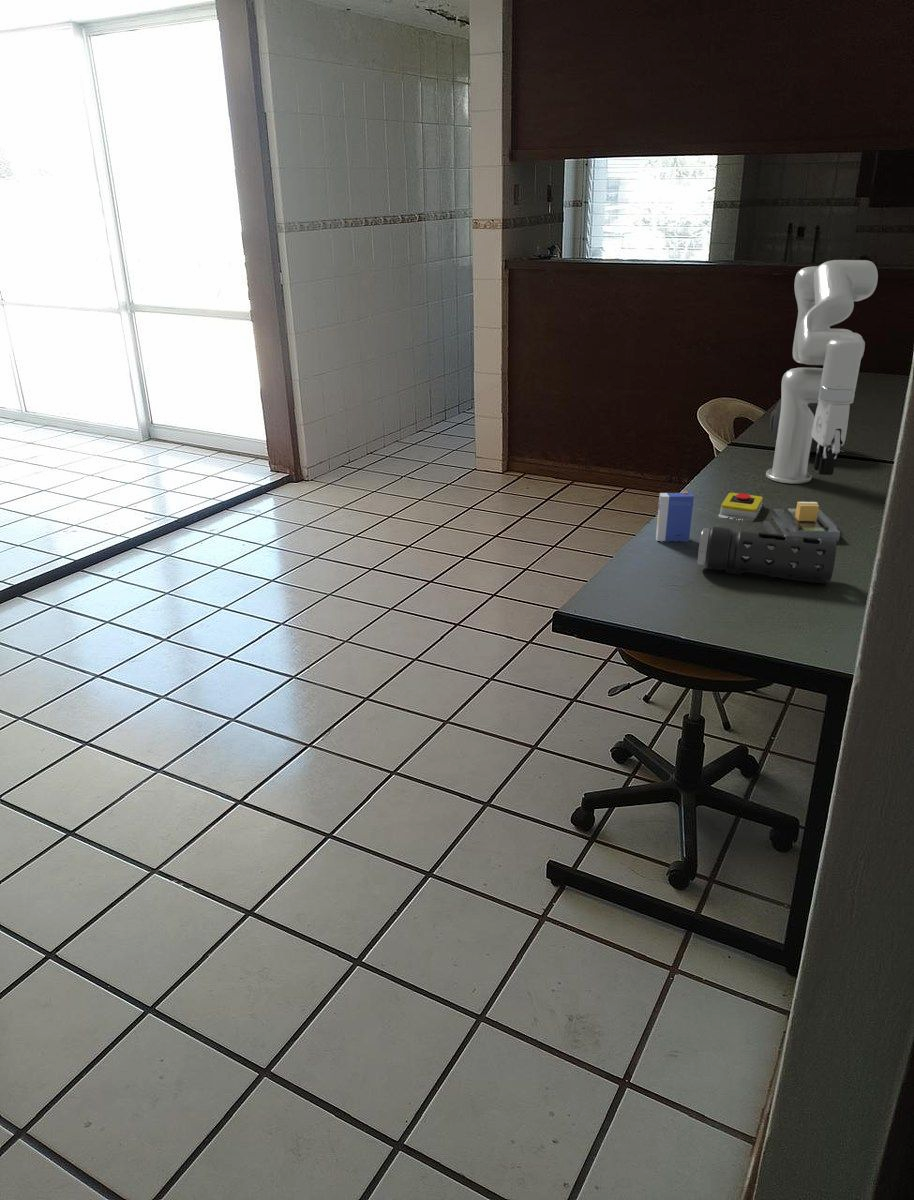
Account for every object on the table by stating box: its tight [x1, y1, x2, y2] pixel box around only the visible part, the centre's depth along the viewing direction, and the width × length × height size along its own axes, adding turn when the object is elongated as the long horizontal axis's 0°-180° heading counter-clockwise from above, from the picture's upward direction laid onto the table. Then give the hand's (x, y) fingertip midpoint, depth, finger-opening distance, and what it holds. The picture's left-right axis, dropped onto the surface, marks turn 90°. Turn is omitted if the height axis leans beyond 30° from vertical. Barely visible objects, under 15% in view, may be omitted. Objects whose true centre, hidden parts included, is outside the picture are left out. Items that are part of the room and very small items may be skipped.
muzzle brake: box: [697, 525, 837, 585], centre depth 199 cm, size 10×28×10 cm, turn 71°
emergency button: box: [717, 492, 764, 522], centre depth 238 cm, size 9×4×15 cm
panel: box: [771, 508, 841, 543], centre depth 225 cm, size 16×12×3 cm
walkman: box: [655, 491, 694, 543], centre depth 218 cm, size 8×3×12 cm, turn 89°
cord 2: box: [826, 515, 840, 530], centre depth 227 cm, size 8×1×1 cm, turn 177°
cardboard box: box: [795, 501, 820, 521], centre depth 224 cm, size 3×4×4 cm
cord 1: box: [762, 520, 779, 534], centre depth 222 cm, size 14×1×1 cm, turn 177°
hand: (823, 471), depth 213 cm, fingers open, 2 cm apart
